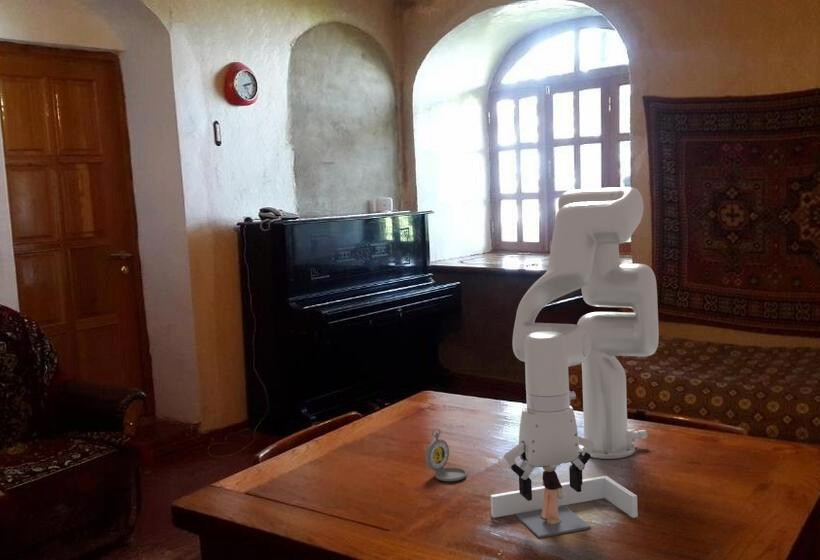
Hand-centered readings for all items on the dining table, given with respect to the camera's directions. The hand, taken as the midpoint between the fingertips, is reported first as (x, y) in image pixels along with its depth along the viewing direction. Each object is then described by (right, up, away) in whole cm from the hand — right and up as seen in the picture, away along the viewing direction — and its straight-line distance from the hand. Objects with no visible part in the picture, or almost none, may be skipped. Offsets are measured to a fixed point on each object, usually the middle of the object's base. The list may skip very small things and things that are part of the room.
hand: (551, 493), depth 145 cm
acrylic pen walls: (+3, -5, +3) cm, 6 cm away
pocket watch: (-17, -4, +27) cm, 32 cm away
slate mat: (0, -5, +1) cm, 5 cm away
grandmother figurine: (0, -5, 0) cm, 5 cm away
